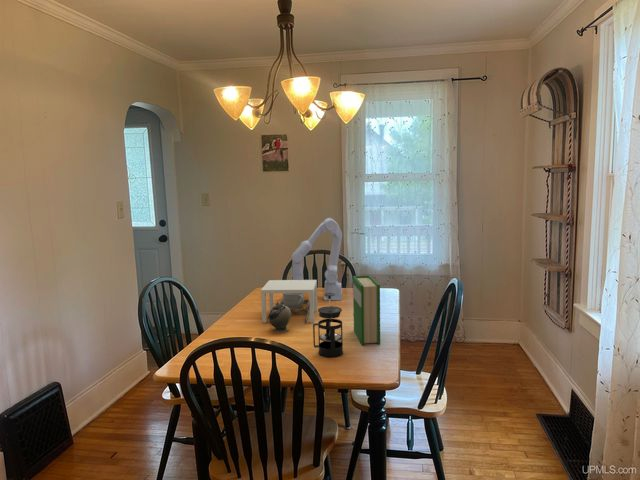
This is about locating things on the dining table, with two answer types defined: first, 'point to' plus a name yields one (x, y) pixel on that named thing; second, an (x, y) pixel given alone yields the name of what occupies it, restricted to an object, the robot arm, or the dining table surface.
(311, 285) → the shelf
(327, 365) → the dining table surface
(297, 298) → the teacup
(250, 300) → the dining table surface
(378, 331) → the hardback book
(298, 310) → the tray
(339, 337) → the french press
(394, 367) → the dining table surface
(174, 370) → the dining table surface
